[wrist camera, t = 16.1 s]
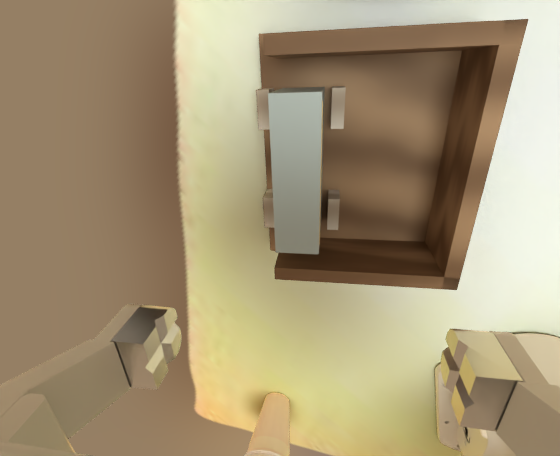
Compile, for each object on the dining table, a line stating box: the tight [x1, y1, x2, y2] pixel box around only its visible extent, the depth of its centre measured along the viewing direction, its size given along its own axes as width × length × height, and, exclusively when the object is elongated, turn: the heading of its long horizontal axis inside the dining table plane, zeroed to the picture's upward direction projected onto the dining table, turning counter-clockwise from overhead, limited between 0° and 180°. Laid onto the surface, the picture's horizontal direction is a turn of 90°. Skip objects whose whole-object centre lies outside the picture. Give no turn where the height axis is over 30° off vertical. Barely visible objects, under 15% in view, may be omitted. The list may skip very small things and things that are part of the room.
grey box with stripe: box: [268, 87, 325, 254], centre depth 26 cm, size 12×4×7 cm, turn 2°
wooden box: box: [256, 19, 528, 290], centre depth 26 cm, size 20×17×8 cm
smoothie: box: [244, 392, 290, 456], centre depth 41 cm, size 6×6×14 cm
